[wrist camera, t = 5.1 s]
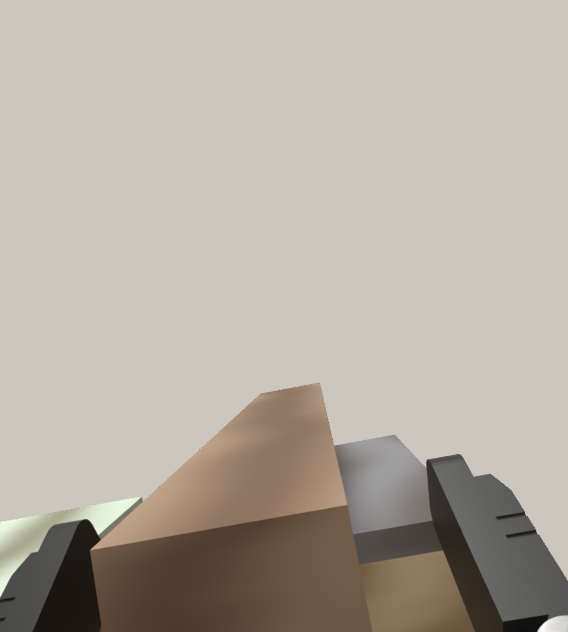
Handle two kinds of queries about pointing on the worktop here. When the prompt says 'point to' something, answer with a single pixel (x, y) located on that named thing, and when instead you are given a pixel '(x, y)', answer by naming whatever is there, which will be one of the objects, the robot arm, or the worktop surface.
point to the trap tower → (398, 540)
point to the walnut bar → (241, 534)
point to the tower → (28, 533)
